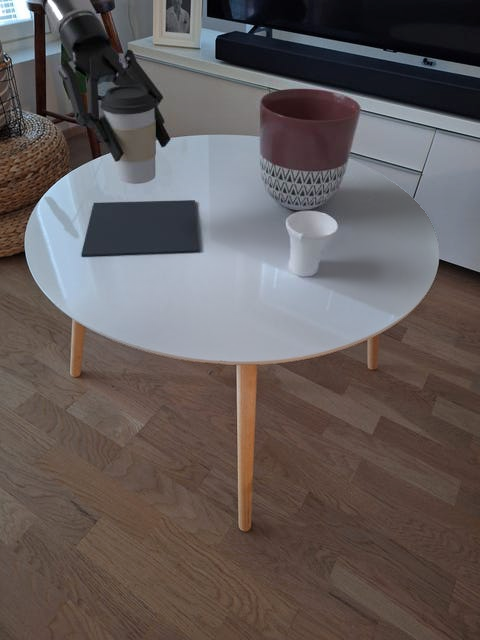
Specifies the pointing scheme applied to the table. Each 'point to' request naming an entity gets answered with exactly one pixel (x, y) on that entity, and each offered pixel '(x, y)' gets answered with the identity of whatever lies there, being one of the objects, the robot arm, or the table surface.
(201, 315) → the table surface
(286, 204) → the planter
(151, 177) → the coffee cup
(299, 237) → the cup
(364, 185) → the table surface
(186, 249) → the mat
